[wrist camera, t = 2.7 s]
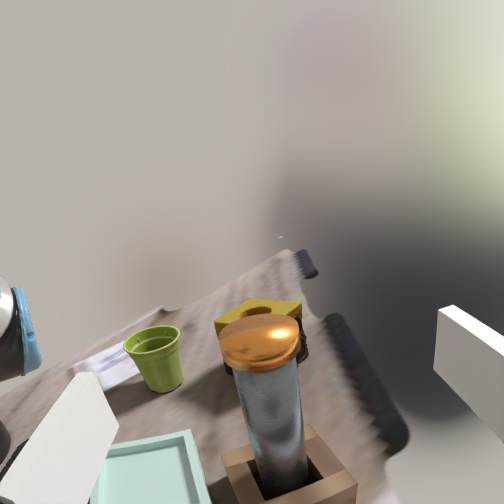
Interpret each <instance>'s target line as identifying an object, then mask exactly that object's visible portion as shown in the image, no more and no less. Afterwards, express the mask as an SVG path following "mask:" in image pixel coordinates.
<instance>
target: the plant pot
mask: <svg viewBox="0 0 504 504" xmlns="http://www.w3.org/2000/svg"><path fill="white" fill-rule="evenodd" d="M179 337H180V332H179V330H178V329H177V328H175V327H173V326H155V327H150V328H146V329H144V330H141V331H138V332H136V333H134V334H133V335H131V336H130V337H128V338H127V339H126V340H125V342H124V344H123V348H124V350H125V351H126V352H127V353H129V355H130V357H131V358H132V359H133V360H134V362H135V363H136V365H137V367H138V369H139V371H140V372H141V374H142V376H143V378H144V380H145V381H146V383H147V385H148V387H149V388H150V390H154V391H156V392H158V393H164V392H169V391H172V390H174V389H176V388H177V386H178V385H179V384H181V383H182V382H183V373H182V368H181V361H180V355H179V348H178V345H179Z"/></svg>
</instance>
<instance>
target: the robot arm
mask: <svg viewBox="0 0 504 504" xmlns="http://www.w3.org/2000/svg"><path fill="white" fill-rule="evenodd" d="M436 337H437V338H436V348H435V359H434V368H433V369H434V370H435V371H436V372H437V373H438V374H439V375H440V376H441V377H442V378H443V379H444V381H445V382H446V383H447V384H448V385H449V386H451V388H452V389H453V390H454V391H455V392H456V393H457V394H458V395H459V396H460V397H461V398H462V399H463V400H464V401H465V402H466V403H467V404H468V405H469V406H470V407H471V409H472V410H473V411H474V412H475V413H476V414H477V415H478V416H479V417H480V418H481V419H482V420H483V421H484V422H485V423H486V425H487V426H488V427H489V428H490V429H491V430H492V431H493V432H494V433H495V434H496V435H497V436H498V438H499V439H500V440H501V441H502V442H503V443H504V337H503V336H502V335H500V334H498V333H497V332H495V331H494V330H492V329H491V328H489V327H488V326H486V325H484V324H483V323H481V322H480V321H478V320H476V319H475V318H474V317H472V316H470V315H469V314H467V313H466V312H464V311H462V310H461V309H459V308H457V307H456V306H454V305H451V306H449V307H445V308H442V309H439V310H438V322H437V336H436ZM41 362H42V358H41V354H40V351H39V347H38V344H37V340H36V337H35V333H34V330H33V326H32V322H31V318H30V314H29V310H28V306H27V301H26V297H25V293H24V290H23V289H22V288H21V287H18V288H15V287H13V288H11V289H10V287H9V286H8V284H7V283H6V281H5V280H4V279H3V278H2V277H0V382H2V381H5V380H8V379H11V378H14V377H17V376H20V375H21V376H25V375H26V373H29V372H31V371H33V370H36V369H38V368H39V367H40V365H41ZM118 428H119V424H118V422H117V420H116V418H115V416H114V414H113V412H112V410H111V408H110V406H109V404H108V402H107V400H106V397H105V395H104V393H103V391H102V389H101V386H100V384H99V382H98V380H97V377H96V375H95V373H94V372H78V373H77V374H76V376H75V377H74V378H73V380H72V381H71V382H70V384H69V385H68V386H67V388H66V389H65V390H64V392H63V393H62V394H61V396H60V397H59V398H58V400H57V401H56V402H55V404H54V405H53V406H52V408H51V409H50V411H49V412H48V413H47V415H46V416H45V417H44V419H43V420H42V422H41V423H40V424H39V426H38V427H37V429H36V430H35V432H34V433H33V434H32V436H31V437H30V439H27V440H26V441H24V442H23V443H22V444H21V445H19V446H18V447H17V449H16V450H15V452H14V453H13V455H12V456H11V459H9V460H8V462H7V463H6V467H5V466H4V468H3V469H2V471H1V472H0V504H87V503H88V500H89V498H90V495H91V493H92V490H93V488H94V485H95V483H96V480H97V478H98V475H99V473H100V470H101V468H102V466H103V463H104V461H105V458H106V456H107V454H108V451H109V449H110V447H111V444H112V442H113V440H114V437H115V435H116V433H117V430H118ZM9 448H10V435H9V433H8V431H7V429H6V428H5V426H4V425H3V423H2V422H1V421H0V463H1V462H2V461H3V460H4V458H5V457H6V455H7V453H8V451H9Z"/></svg>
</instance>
